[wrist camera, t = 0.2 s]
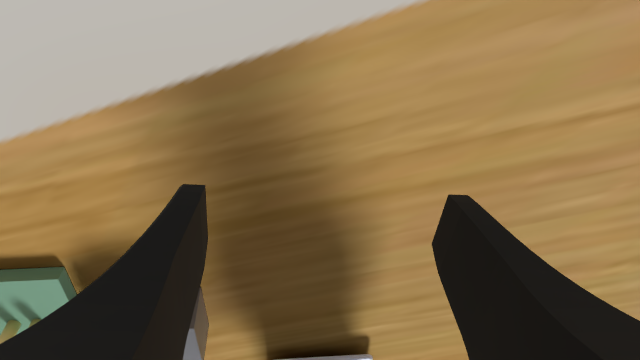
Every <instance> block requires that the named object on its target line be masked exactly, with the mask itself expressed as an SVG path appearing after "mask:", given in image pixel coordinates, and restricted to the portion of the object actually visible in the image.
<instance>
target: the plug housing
mask: <svg viewBox="0 0 640 360" xmlns="http://www.w3.org/2000/svg"><path fill="white" fill-rule="evenodd" d="M208 327H209V323H208V318H207V313H206V309H205V304H204V299H203V295H202V290H201V287H200V288H199V292H198V296H197V300H196V304H195V308H194V312H193V316H192V320H191V324H190V328H189V332H188V336H187V340H186V345H185V350H184V356H183V360H204V355H205V348H206V341H207V334H208Z"/></svg>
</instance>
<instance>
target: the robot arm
mask: <svg viewBox="0 0 640 360" xmlns="http://www.w3.org/2000/svg"><path fill="white" fill-rule="evenodd" d="M207 242H208V230H207V210H206V191H205V185H189V184H183V185H182V186H181V187H179V189H178V190H177V192H176V193H175V195H174V196H173V197H172V199H171V200H170V202H169V203H168V204H167V206H166V207H165V208H164V210H163V211H162V212H161V213H160V215H159V216H158V217H157V218H156V219H155V221H154V222H153V223H152V224H151V225H150V227H149V228H148V229H147V230H146V231H145V233H144V234H143V235H142V236H141V237H140V238H139V239H138V240H137V241H136V242H135V243H134V244H133V245H132V246H131V248H130V249H129V250H128V251H127V252H126V253H125V254H124V255H123V256H122V257H121V258H120V259H119V260H118V261H117V262H116V263H114V264H113V265H112V266H111V267H110V268H109V269H108V270H107V271H106V272H104V273H103V274H102V275H101V276H100V277H99V278H98V279H96V280H95V281H94V282H93V283H91V284H90V285H89V286H88V287H86V288H85V289H84V290H83V291H81V292H80V293H79V294H78V295H76V296H75V297H74V298H72V299H71V300H70V301H68V302H67V303H65V304H64V305H63V306H61V307H60V308H58V309H57V310H55V311H54V312H52V313H51V314H49V315H48V316H46V317H45V318H43V319H42V320H40V321H39V322H37V323H35V324H34V325H32V326H31V327H29V328H27V329H26V330H24V331H22V332H20V333H19V334H17V335H15V336H13V337H12V338H10V339H8V340H6V341H4V342H3V343H1V344H0V360H183V356H184V350H185V345H186V340H187V336H188V332H189V328H190V324H191V320H192V316H193V312H194V308H195V304H196V300H197V296H198V292H199V288H200V284H201V280H202V276H203V271H204V266H205V258H206V250H207ZM432 247H433V252H434V257H435V261H436V266H437V270H438V274H439V276H440V279H441V282H442V285H443V287H444V290H445V293H446V296H447V298H448V301H449V303H450V306H451V309H452V311H453V314H454V317H455V319H456V322H457V324H458V327H459V330H460V332H461V335H462V338H463V341H464V344H465V347H466V350H467V353H468V357H469V360H640V321H639V320H637V319H635V318H633V317H631V316H629V315H627V314H626V313H624V312H622V311H620V310H618V309H616V308H615V307H613V306H611V305H610V304H608V303H606V302H605V301H603V300H601V299H599V298H598V297H596V296H594V295H593V294H591V293H590V292H588V291H586V290H585V289H583V288H582V287H580V286H579V285H577V284H576V283H574V282H573V281H571V280H570V279H568V278H567V277H565V276H564V275H563V274H561V273H560V272H558V271H557V270H556V269H554V268H553V267H551V266H550V265H549V264H547V263H546V262H545V261H544V260H542V259H541V258H540V257H539V256H537V255H536V254H535V253H534V252H532V251H531V250H530V249H529V248H527V247H526V246H525V245H524V244H523V243H521V242H520V241H519V240H518V239H517V238H516V237H514V236H513V235H512V234H511V233H510V232H509V231H508V230H507V229H505V228H504V227H503V226H502V225H501V224H500V223H499V222H498V221H497V220H495V219H494V218H493V217H492V216H491V215H490V214H489V213H488V212H487V211H485V210H484V209H483V208H482V207H481V206H480V205H479V204H478V203H477V202H475V201H474V200H473V199H472V198H471V197H469V196H468V195H448V198H447V201H446V204H445V206H444V209H443V212H442V215H441V218H440V221H439V224H438V227H437V230H436V233H435V236H434V239H433V242H432ZM274 360H373V357H372V356H371V355H370V354H359V355H342V356H325V357H308V358H291V359H274Z"/></svg>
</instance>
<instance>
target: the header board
mask: <svg viewBox="0 0 640 360" xmlns="http://www.w3.org/2000/svg"><path fill="white" fill-rule="evenodd" d="M76 295H77V294H76V291H75V289H74V287H73V285H72V283H71V281H70V278H69V276H68V274H67V272H66V270H65V268H64V267H51V268H29V269H6V270H0V344H1V343H3V342H4V341H6V340H8V339H10V338H12V337H13V336H15V335H17V334H19V333H20V332H22V331H24V330H26V329H27V328H29V327H31V326H32V325H34V324H35V323H37V322H39V321H40V320H42V319H43V318H45V317H46V316H48V315H49V314H51V313H52V312H54V311H55V310H57V309H58V308H60V307H61V306H63V305H64V304H65V303H67V302H68V301H70V300H71V299H72V298H74V297H75V296H76Z"/></svg>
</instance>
